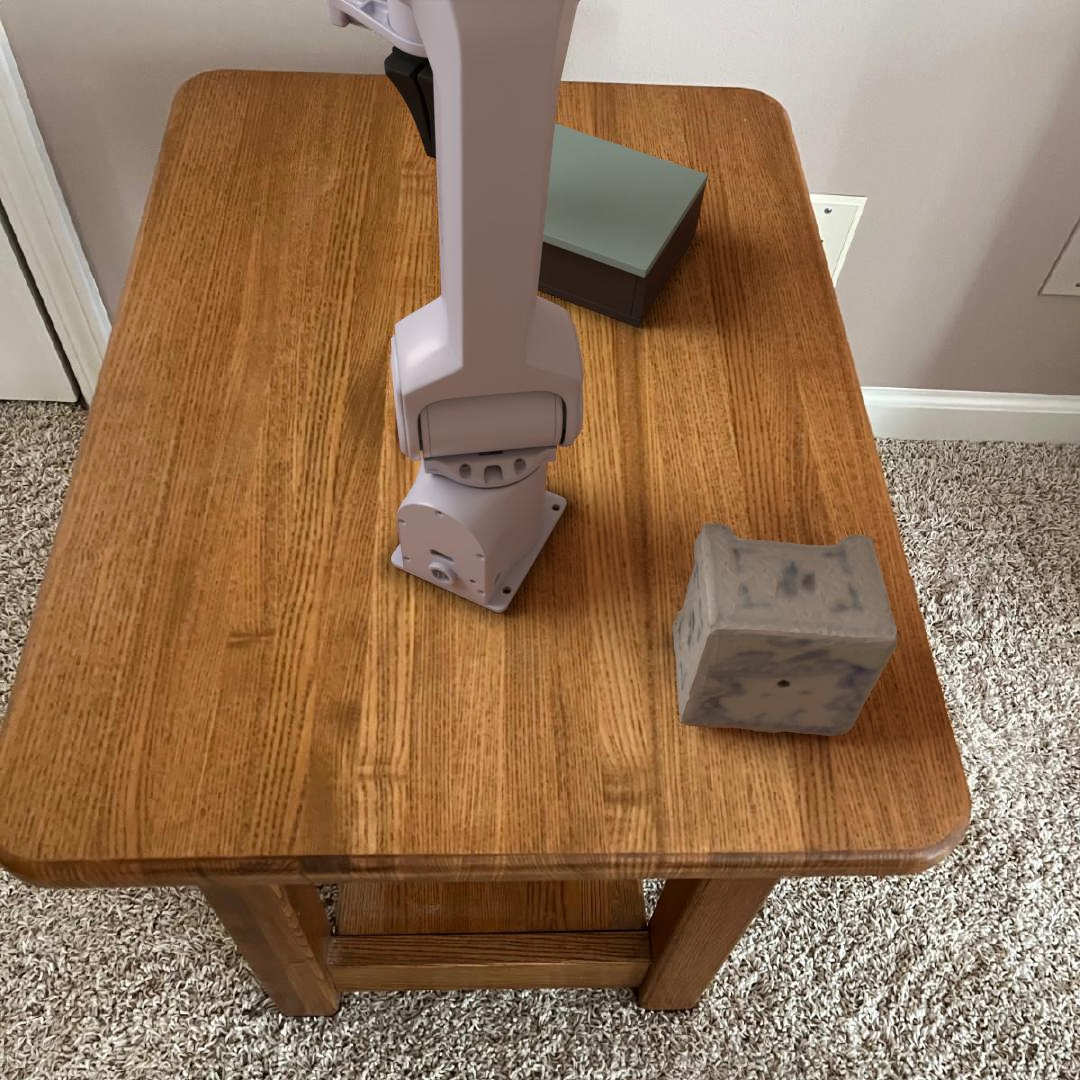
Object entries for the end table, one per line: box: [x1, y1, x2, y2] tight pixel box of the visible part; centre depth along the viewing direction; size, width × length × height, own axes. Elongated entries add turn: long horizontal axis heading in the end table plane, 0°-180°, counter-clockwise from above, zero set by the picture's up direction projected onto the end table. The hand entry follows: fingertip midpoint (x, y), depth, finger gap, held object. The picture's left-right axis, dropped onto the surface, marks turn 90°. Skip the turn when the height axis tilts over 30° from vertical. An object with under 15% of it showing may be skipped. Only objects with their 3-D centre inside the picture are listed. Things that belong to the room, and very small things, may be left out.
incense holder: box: [671, 522, 899, 737], centre depth 54 cm, size 10×8×10 cm
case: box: [538, 183, 707, 329], centre depth 76 cm, size 12×14×5 cm
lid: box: [543, 123, 709, 278], centre depth 73 cm, size 12×14×1 cm
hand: (441, 150), depth 68 cm, fingers closed
